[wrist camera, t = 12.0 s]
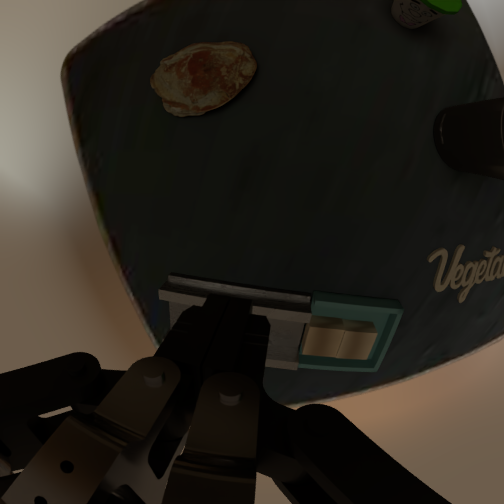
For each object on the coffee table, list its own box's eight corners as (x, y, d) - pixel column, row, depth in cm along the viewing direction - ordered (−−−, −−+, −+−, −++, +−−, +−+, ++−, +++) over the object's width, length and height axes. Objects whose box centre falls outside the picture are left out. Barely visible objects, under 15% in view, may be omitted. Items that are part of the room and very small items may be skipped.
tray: (397, 299, 36) (404, 309, 33) (373, 360, 40) (376, 371, 38) (313, 290, 37) (315, 300, 34) (297, 355, 41) (297, 367, 39)
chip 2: (372, 321, 37) (377, 333, 34) (362, 347, 39) (366, 359, 36) (342, 318, 38) (345, 330, 35) (333, 345, 39) (335, 357, 36)
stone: (172, 132, 33) (162, 132, 30) (150, 72, 30) (139, 68, 27) (269, 92, 29) (267, 87, 27) (241, 30, 26) (237, 21, 24)
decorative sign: (422, 311, 36) (429, 250, 32) (420, 308, 36) (426, 248, 33) (523, 284, 31) (532, 234, 28) (521, 282, 32) (529, 233, 29)
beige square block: (341, 318, 38) (345, 330, 35) (333, 344, 39) (335, 357, 36) (308, 314, 38) (309, 326, 35) (301, 341, 40) (302, 354, 37)
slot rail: (310, 293, 37) (312, 310, 33) (295, 353, 41) (295, 372, 37) (170, 272, 39) (158, 286, 35) (173, 332, 43) (163, 349, 38)
